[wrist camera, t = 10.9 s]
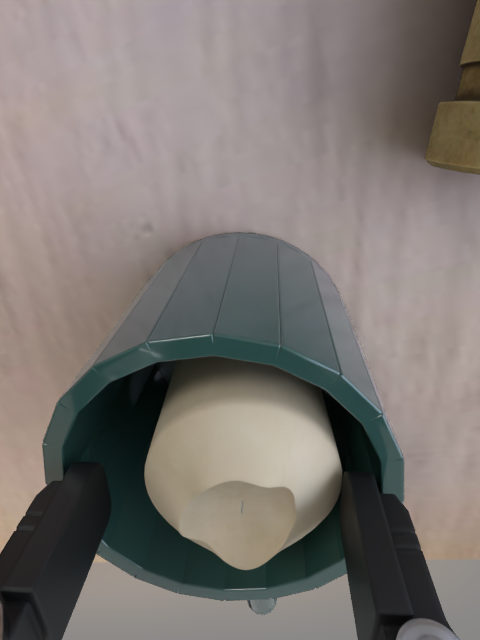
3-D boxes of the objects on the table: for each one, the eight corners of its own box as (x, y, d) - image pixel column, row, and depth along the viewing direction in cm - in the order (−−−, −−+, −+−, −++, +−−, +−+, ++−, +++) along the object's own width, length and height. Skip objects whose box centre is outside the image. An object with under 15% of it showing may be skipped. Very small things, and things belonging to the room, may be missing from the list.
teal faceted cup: (114, 249, 19) (-19, 361, 10) (339, 215, 17) (405, 311, 9) (181, 471, 24) (134, 661, 16) (355, 459, 23) (403, 658, 15)
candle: (304, 386, 20) (348, 598, 11) (192, 390, 21) (148, 600, 12) (306, 280, 18) (362, 440, 9) (180, 285, 18) (110, 447, 9)
